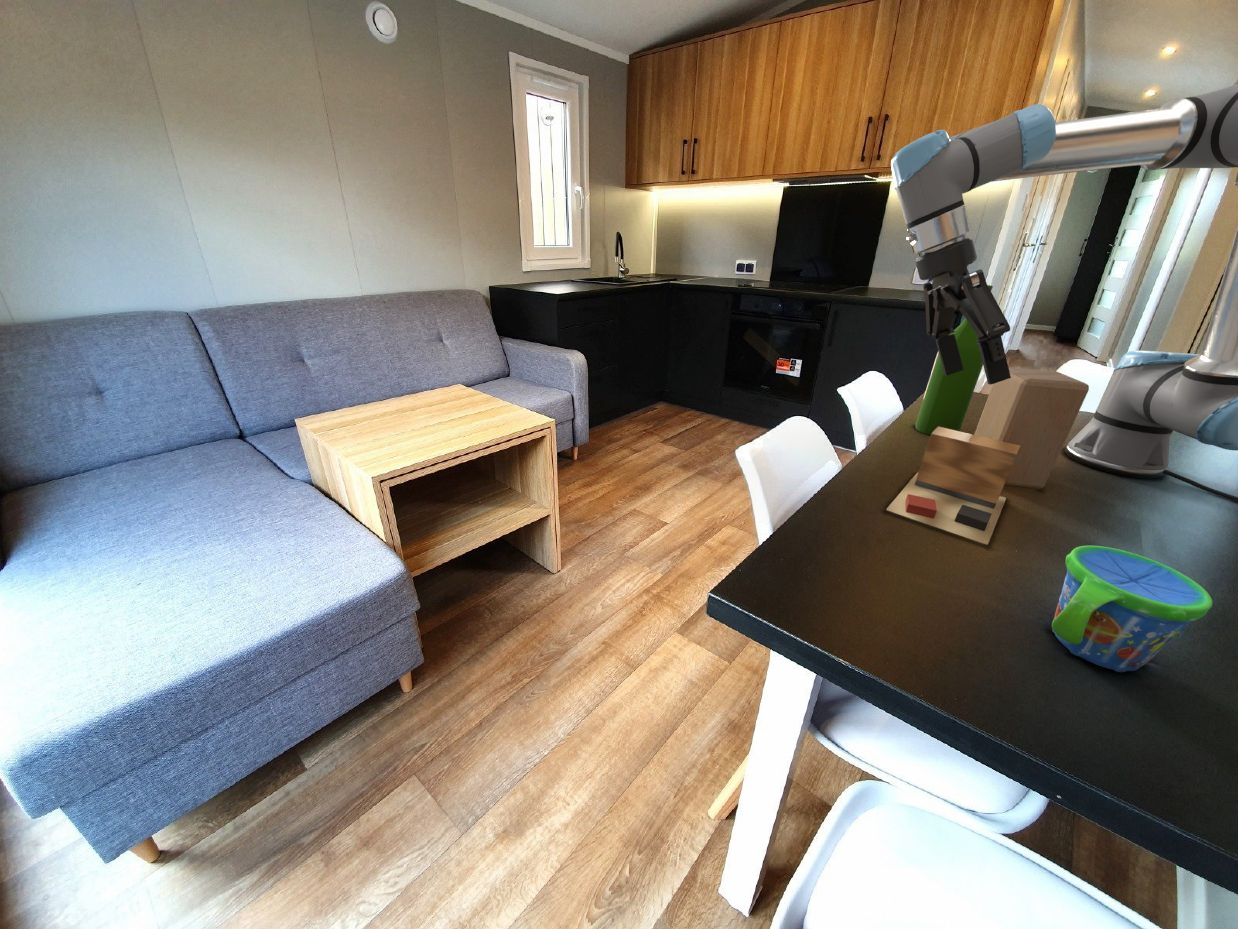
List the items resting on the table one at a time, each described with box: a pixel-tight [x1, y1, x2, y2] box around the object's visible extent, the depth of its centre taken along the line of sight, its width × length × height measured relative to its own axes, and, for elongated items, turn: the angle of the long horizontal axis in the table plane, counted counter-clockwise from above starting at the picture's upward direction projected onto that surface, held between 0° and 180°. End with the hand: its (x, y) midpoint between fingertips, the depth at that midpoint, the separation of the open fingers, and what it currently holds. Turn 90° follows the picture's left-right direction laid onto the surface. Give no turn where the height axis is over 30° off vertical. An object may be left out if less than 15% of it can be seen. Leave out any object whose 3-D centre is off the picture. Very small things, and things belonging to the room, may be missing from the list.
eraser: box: [915, 427, 1020, 509], centre depth 84 cm, size 12×5×10 cm, turn 48°
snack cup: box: [1051, 545, 1213, 673], centre depth 52 cm, size 16×10×10 cm
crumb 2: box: [955, 505, 992, 531], centre depth 77 cm, size 4×4×2 cm
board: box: [886, 471, 1007, 545], centre depth 82 cm, size 14×20×1 cm
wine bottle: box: [914, 284, 994, 436], centre depth 109 cm, size 9×9×32 cm
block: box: [973, 366, 1090, 490], centre depth 89 cm, size 10×10×20 cm
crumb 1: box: [905, 494, 937, 518], centre depth 80 cm, size 4×4×2 cm
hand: (974, 376), depth 79 cm, fingers open, 13 cm apart
